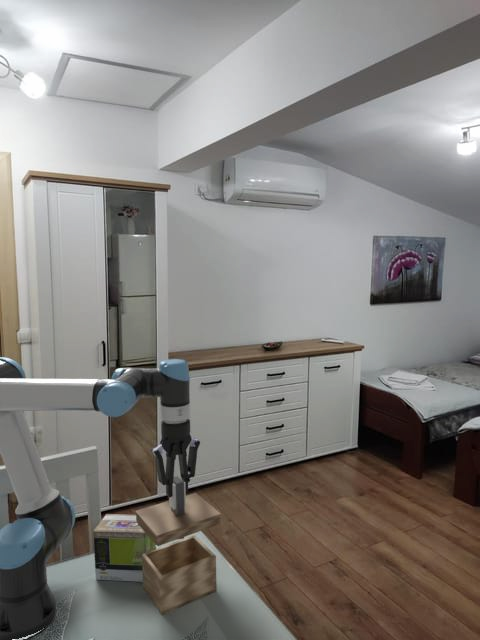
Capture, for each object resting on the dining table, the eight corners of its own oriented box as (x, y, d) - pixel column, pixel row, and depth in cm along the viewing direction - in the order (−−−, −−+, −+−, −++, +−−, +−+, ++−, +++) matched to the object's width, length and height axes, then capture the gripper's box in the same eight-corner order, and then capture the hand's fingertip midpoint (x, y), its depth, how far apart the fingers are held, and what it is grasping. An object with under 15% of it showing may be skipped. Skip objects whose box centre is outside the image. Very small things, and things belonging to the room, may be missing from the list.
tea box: (157, 561, 140) (155, 514, 138) (147, 583, 130) (145, 533, 129) (108, 558, 142) (106, 512, 140) (94, 580, 132) (92, 530, 130)
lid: (157, 546, 115) (155, 500, 113) (135, 520, 126) (134, 478, 125) (221, 523, 125) (220, 481, 123) (195, 501, 136) (194, 462, 135)
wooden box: (161, 615, 118) (160, 578, 117) (143, 588, 128) (142, 554, 127) (216, 590, 127) (215, 556, 126) (195, 567, 137) (194, 535, 136)
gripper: (154, 429, 115) (156, 520, 118) (208, 417, 123) (209, 503, 126) (142, 420, 121) (145, 507, 124) (194, 410, 130) (196, 492, 132)
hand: (177, 505), depth 125 cm, fingers closed on lid, 2 cm apart
